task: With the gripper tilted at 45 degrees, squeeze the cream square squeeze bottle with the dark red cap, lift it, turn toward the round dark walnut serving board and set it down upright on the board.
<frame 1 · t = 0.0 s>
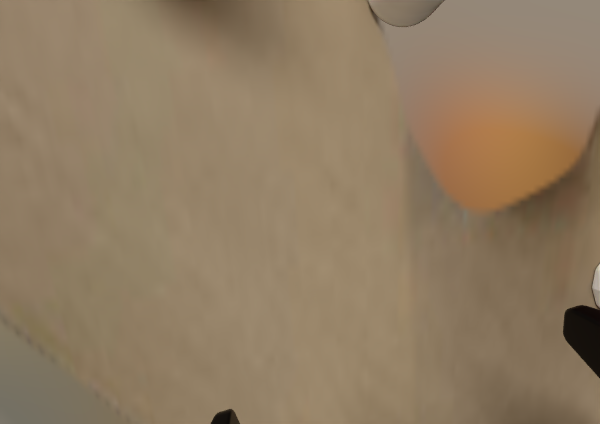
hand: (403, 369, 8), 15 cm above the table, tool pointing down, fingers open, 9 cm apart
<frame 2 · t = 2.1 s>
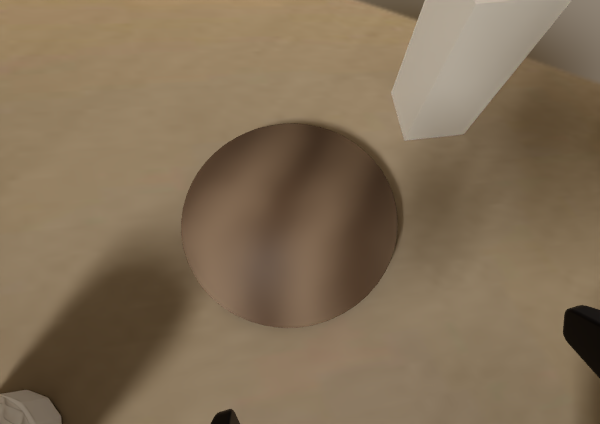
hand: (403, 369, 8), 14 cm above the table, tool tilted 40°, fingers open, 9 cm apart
walnut serving board: (289, 218, 24), on the table
square squeeze bottle: (426, 113, 28), on the table
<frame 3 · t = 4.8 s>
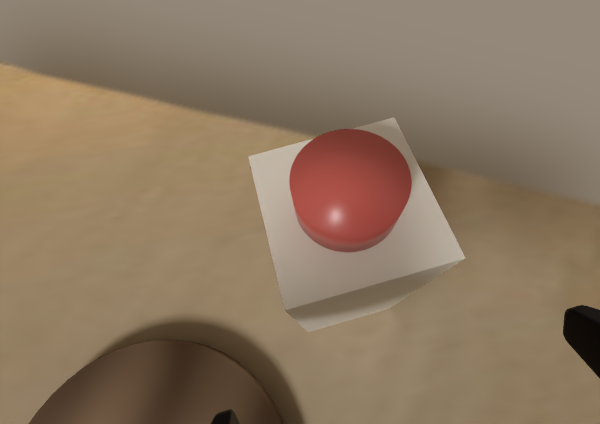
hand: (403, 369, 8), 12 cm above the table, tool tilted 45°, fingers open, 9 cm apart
square squeeze bottle: (335, 280, 21), on the table
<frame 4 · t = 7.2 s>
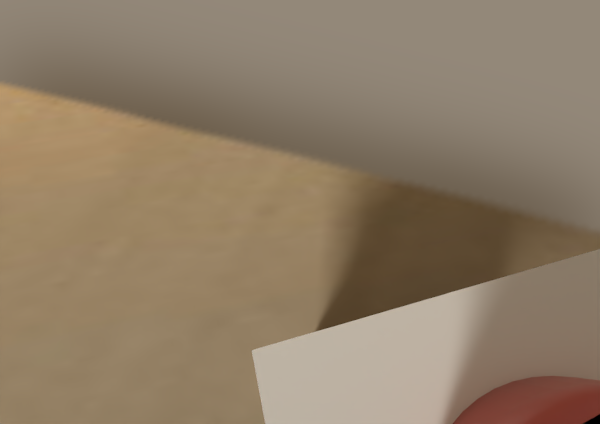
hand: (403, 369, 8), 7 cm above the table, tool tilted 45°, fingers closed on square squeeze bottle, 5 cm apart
square squeeze bottle: (381, 394, 14), on the table, touching gripper
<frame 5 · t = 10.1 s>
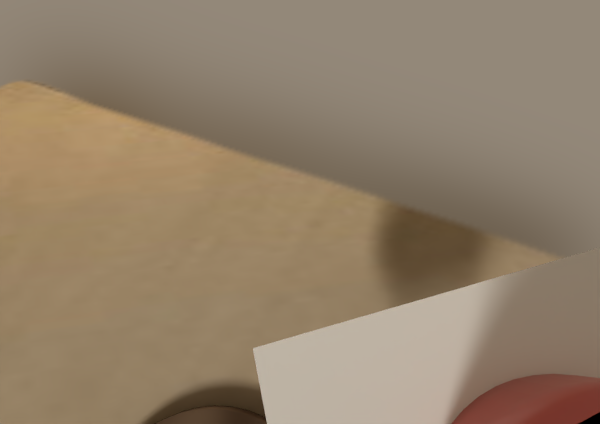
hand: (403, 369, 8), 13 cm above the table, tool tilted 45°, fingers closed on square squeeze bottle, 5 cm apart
square squeeze bottle: (381, 393, 14), point 7 cm above the table, touching gripper
when the fingers open (9 cm above the table, at t = 13.0 s): square squeeze bottle drops 1 cm, resting on walnut serving board.
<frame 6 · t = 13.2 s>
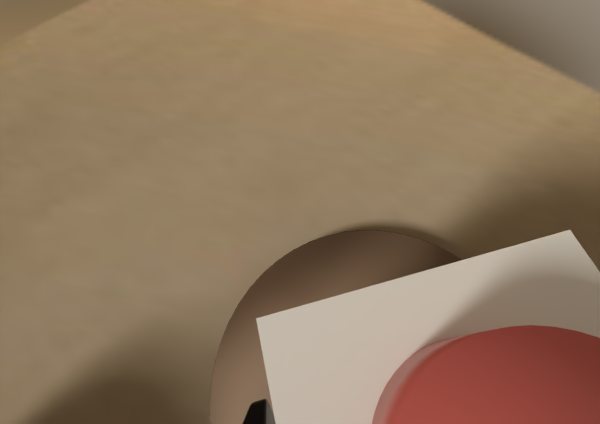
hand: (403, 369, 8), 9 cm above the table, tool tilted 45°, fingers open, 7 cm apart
walnut serving board: (373, 387, 16), on the table
square squeeze bottle: (377, 390, 15), point 1 cm above the table, touching walnut serving board
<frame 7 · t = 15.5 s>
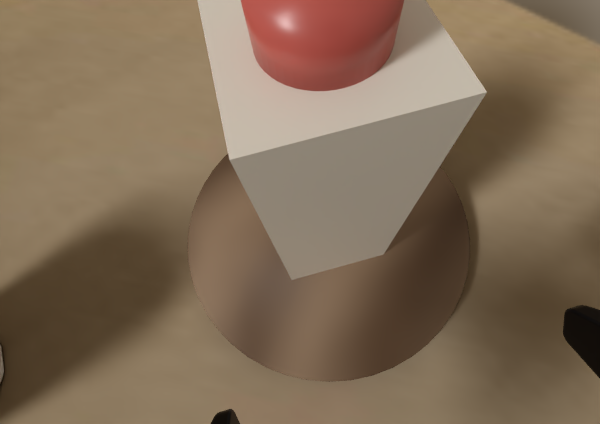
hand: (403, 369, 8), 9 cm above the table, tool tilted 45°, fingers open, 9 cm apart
walnut serving board: (323, 231, 19), on the table
square squeeze bottle: (324, 224, 18), point 1 cm above the table, touching walnut serving board
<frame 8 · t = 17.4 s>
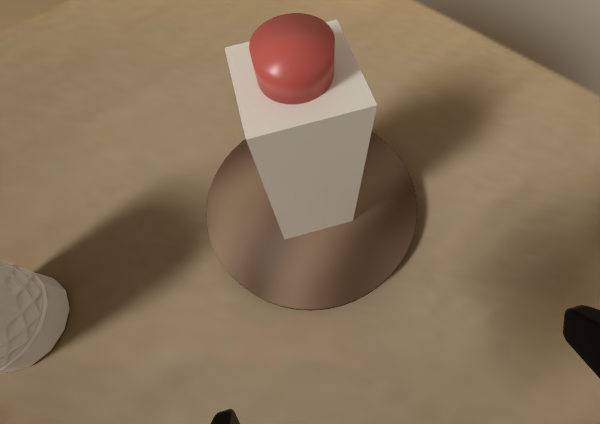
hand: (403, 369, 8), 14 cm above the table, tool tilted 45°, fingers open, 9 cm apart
white cup: (28, 321, 23), on the table
walnut serving board: (309, 206, 25), on the table
square squeeze bottle: (309, 199, 24), point 1 cm above the table, touching walnut serving board
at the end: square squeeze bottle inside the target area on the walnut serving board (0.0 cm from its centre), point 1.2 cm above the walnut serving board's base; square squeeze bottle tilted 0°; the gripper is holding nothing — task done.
